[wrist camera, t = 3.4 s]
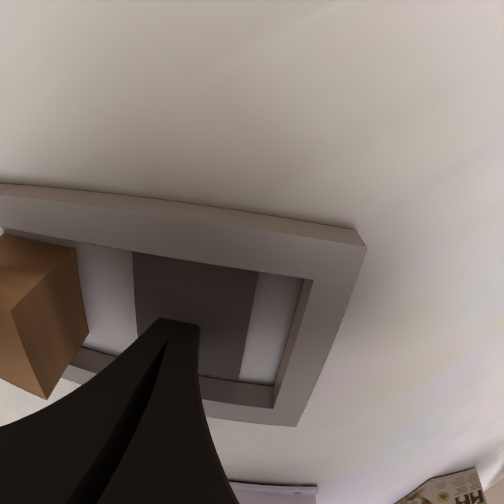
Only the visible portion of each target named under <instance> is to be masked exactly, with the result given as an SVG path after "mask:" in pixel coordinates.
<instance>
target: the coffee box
mask: <svg viewBox="0 0 504 504" xmlns="http://www.w3.org/2000/svg"><path fill="white" fill-rule="evenodd" d="M396 504H487V503H486V500H485V496H484V493H483V489H482V486H481V483H480V479H479V476H478V473H477V470H476V468H473V469H469V470H466V471H462V472H459V473H455V474H451V475H447V476H442V477H438V478H433V479H431V480H429V481H427V482H426V483H425V484H423V485H422V486H421V487H419V488H418V489H416V490H415V491H413V492H412V493H411V494H409V495H408V496H406V497H405V498H403V499H402V500H400V501H399V502H397V503H396Z"/></svg>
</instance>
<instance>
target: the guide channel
mask: <svg viewBox="0 0 504 504" xmlns="http://www.w3.org/2000/svg"><path fill="white" fill-rule="evenodd" d="M0 227H4V228H9V229H14V230H19V231H24V232H30V233H35V234H40V235H46V236H51V237H56V238H62V239H67V240H73V241H78V242H84V243H90V244H95V245H101V246H106V247H112V248H118V249H124V250H129V251H135V252H141V253H147V254H153V255H159V256H165V257H171V258H177V259H183V260H189V261H195V262H201V263H207V264H214V265H220V266H226V267H233V268H239V269H245V270H252V271H258V272H265V273H271V274H278V275H285V276H291V277H298V278H305V279H304V283H303V286H302V290H301V294H300V298H299V301H298V305H297V309H296V312H295V316H294V319H293V323H292V326H291V330H290V333H289V337H288V340H287V344H286V347H285V351H284V354H283V357H282V361H281V364H280V367H279V370H278V374H277V377H276V380H275V383H274V387H272V386H263V385H255V384H248V383H240V382H234V381H227V380H221V379H215V378H209V377H203V376H198V378H199V386H200V392H201V398H202V403H203V408H204V412H205V416H207V417H213V418H220V419H226V420H233V421H240V422H248V423H257V424H267V425H277V426H290V427H296V425H297V423H298V421H299V419H300V417H301V415H302V413H303V411H304V409H305V406H306V404H307V402H308V400H309V398H310V396H311V393H312V391H313V389H314V387H315V384H316V382H317V380H318V378H319V375H320V373H321V371H322V368H323V366H324V364H325V361H326V359H327V356H328V354H329V351H330V349H331V347H332V344H333V342H334V339H335V337H336V334H337V331H338V329H339V326H340V324H341V321H342V318H343V316H344V313H345V310H346V308H347V305H348V302H349V299H350V296H351V294H352V291H353V288H354V285H355V282H356V279H357V276H358V273H359V270H360V267H361V264H362V261H363V258H364V255H365V252H366V249H367V247H366V245H365V244H364V242H363V241H362V239H361V237H360V236H359V234H358V233H357V231H356V230H350V229H345V228H339V227H334V226H328V225H323V224H317V223H311V222H305V221H300V220H294V219H288V218H282V217H276V216H269V215H263V214H257V213H251V212H244V211H238V210H231V209H224V208H217V207H211V206H204V205H196V204H189V203H182V202H174V201H167V200H159V199H151V198H143V197H135V196H127V195H118V194H109V193H100V192H91V191H82V190H72V189H62V188H51V187H40V186H28V185H16V184H2V183H0ZM116 358H117V357H113V356H110V355H106V354H103V353H99V352H96V351H92V350H89V349H86V348H82V347H80V348H79V349H78V351H77V352H76V354H75V355H74V357H73V359H72V360H71V362H70V363H69V365H68V367H67V368H66V370H65V371H64V373H63V375H62V376H61V377H62V378H64V379H67V380H70V381H73V382H75V383H78V384H81V385H83V384H84V383H86V382H87V381H88V380H90V379H91V378H92V377H94V376H95V375H96V374H98V373H99V372H100V371H101V370H103V369H104V368H105V367H106V366H107V365H109V364H110V363H111V362H112V361H114V360H115V359H116Z"/></svg>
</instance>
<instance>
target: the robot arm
mask: <svg viewBox="0 0 504 504" xmlns="http://www.w3.org/2000/svg"><path fill="white" fill-rule="evenodd" d="M200 331H201V328H200V327H199V326H198V325H197V324H192V323H186V322H181V321H176V320H171V319H165V318H161V317H159V318H158V319H156V320H155V321H154V322H153V323H152V324H151V325H150V326H149V327H148V328H147V330H146V331H145V332H144V333H143V334H142V335H141V336H140V337H138V338H137V339H136V340H135V341H134V342H133V343H132V344H131V345H130V346H129V347H128V348H127V349H126V350H125V351H124V352H122V353H121V354H120V355H119V356H118V357H117V358H116V359H115V360H114V361H112V362H111V363H110V364H109V365H107V366H106V367H105V368H104V369H103V370H101V371H100V372H99V373H98V374H96V375H95V376H94V377H92V378H91V379H90V380H88V381H87V382H86V383H84V384H83V385H81V386H80V387H78V388H77V389H75V390H74V391H73V392H71V393H69V394H68V395H66V396H64V397H63V398H61V399H59V400H58V401H56V402H54V403H53V404H51V405H49V406H47V407H45V408H43V409H41V410H39V411H37V412H35V413H33V414H31V415H28V416H26V417H24V418H22V419H20V420H17V421H15V422H12V423H10V424H7V425H4V426H1V427H0V504H316V499H315V495H316V494H317V493H318V488H317V487H291V486H270V485H256V484H245V483H236V482H229V481H228V479H227V477H226V474H225V472H224V470H223V467H222V465H221V462H220V460H219V457H218V455H217V452H216V449H215V446H214V443H213V440H212V437H211V434H210V431H209V427H208V424H207V420H206V416H205V412H204V408H203V403H202V398H201V392H200V386H199V378H198V363H199V346H200Z"/></svg>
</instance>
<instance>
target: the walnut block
mask: <svg viewBox="0 0 504 504" xmlns="http://www.w3.org/2000/svg"><path fill="white" fill-rule="evenodd" d="M88 334H89V331H88V326H87V321H86V316H85V311H84V305H83V300H82V294H81V288H80V281H79V274H78V267H77V259H76V251H75V248H71V247H66V246H60V245H55V244H50V243H45V242H40V241H35V240H30V239H25V238H20V237H16V236H11V235H6V234H3V235H1V236H0V378H1V379H3V380H5V381H7V382H9V383H11V384H13V385H15V386H17V387H19V388H21V389H23V390H25V391H27V392H29V393H31V394H34V395H36V396H38V397H40V398H43V399H45V400H48V398H49V396H50V394H51V393H52V391H53V389H54V388H55V386H56V384H57V383H58V381H59V379H60V378H61V376H62V375H63V373H64V371H65V370H66V368H67V367H68V365H69V363H70V362H71V360H72V359H73V357H74V355H75V354H76V352H77V351H78V349H79V348H80V346H81V345H82V343H83V342H84V340H85V339H86V337H87V335H88Z"/></svg>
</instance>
